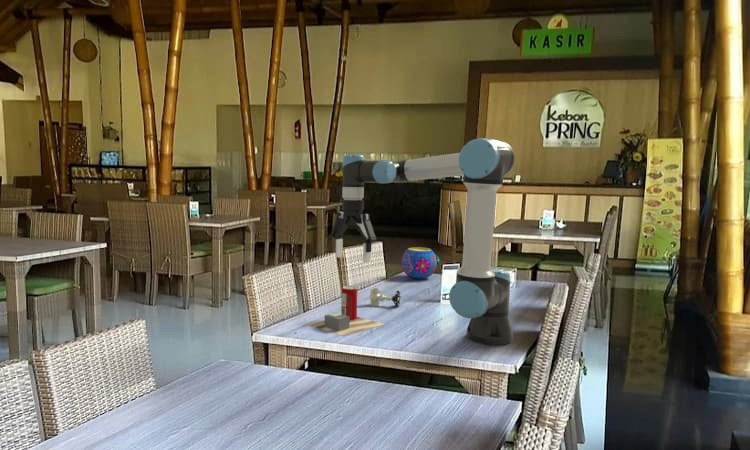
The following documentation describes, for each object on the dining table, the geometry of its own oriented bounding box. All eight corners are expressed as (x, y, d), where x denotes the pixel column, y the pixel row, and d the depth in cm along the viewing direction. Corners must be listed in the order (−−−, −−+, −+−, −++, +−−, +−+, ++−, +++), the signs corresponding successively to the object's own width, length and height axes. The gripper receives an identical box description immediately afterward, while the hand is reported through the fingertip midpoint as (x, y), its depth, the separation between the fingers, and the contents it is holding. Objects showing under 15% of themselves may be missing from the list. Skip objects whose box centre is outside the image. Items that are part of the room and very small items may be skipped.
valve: (367, 306, 228) (396, 309, 225) (367, 290, 227) (397, 292, 224) (371, 302, 234) (400, 305, 231) (372, 287, 234) (400, 289, 231)
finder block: (349, 328, 193) (349, 315, 192) (338, 331, 189) (338, 318, 189) (335, 324, 197) (335, 311, 197) (324, 326, 194) (324, 314, 193)
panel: (385, 327, 199) (385, 324, 198) (343, 339, 184) (343, 336, 184) (348, 317, 211) (348, 314, 211) (307, 328, 196) (307, 324, 196)
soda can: (359, 319, 204) (360, 286, 203) (351, 322, 200) (351, 288, 198) (346, 316, 207) (347, 284, 206) (338, 320, 203) (338, 286, 201)
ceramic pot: (443, 280, 284) (444, 250, 283) (413, 283, 275) (414, 252, 274) (423, 273, 299) (424, 245, 298) (394, 276, 290) (395, 247, 289)
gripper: (387, 200, 194) (386, 262, 196) (336, 197, 210) (335, 254, 213) (372, 201, 188) (371, 264, 190) (321, 197, 205) (320, 256, 207)
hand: (352, 259), depth 201 cm, fingers open, 13 cm apart
